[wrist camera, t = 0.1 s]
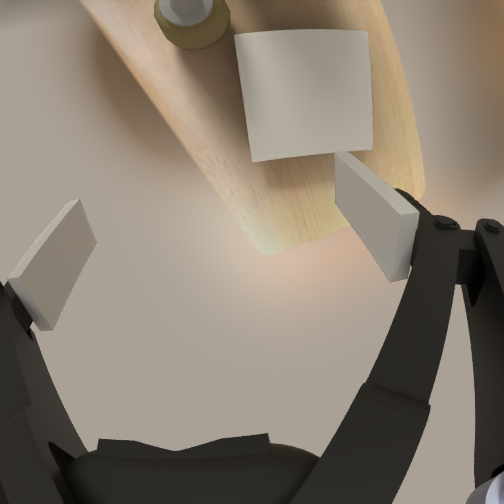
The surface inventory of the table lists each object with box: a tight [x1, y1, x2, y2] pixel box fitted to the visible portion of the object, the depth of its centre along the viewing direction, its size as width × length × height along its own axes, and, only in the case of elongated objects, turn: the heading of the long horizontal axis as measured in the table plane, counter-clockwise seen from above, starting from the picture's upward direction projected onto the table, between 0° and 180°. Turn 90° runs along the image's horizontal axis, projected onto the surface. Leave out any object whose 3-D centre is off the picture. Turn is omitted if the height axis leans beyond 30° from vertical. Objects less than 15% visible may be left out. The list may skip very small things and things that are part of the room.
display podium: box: [234, 29, 373, 163], centre depth 35 cm, size 16×16×5 cm
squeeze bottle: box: [154, 0, 230, 50], centre depth 23 cm, size 8×8×18 cm
